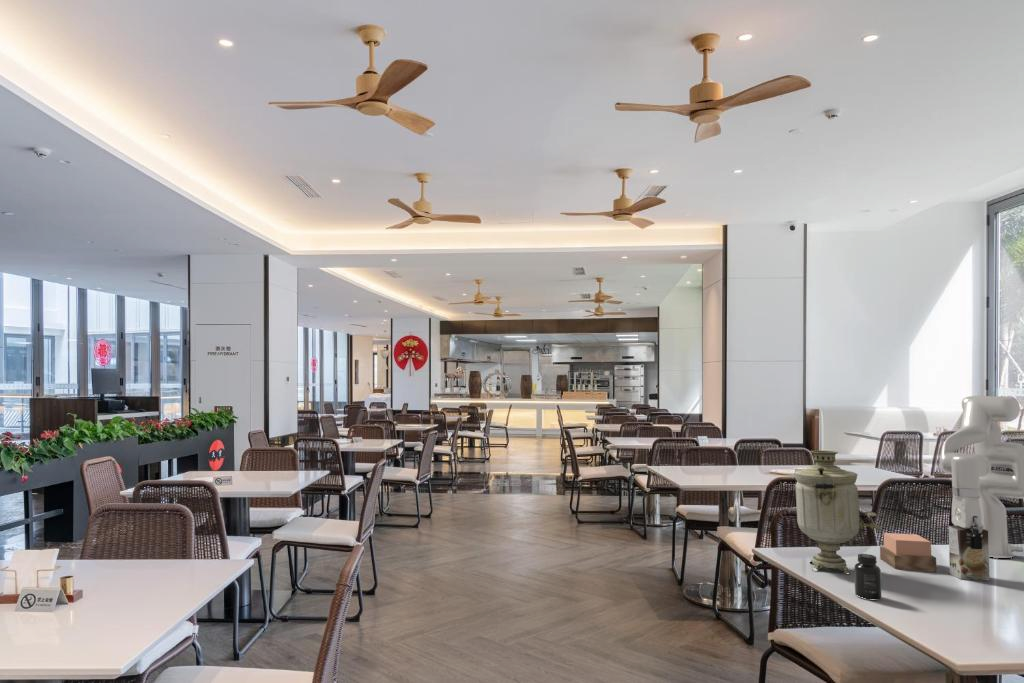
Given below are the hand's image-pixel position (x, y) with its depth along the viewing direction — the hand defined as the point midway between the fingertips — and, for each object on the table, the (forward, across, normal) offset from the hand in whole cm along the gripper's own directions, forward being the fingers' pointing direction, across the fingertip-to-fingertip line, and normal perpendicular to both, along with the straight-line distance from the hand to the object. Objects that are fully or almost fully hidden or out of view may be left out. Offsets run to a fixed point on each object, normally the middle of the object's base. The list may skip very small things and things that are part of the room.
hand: (968, 545), depth 210 cm
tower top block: (+6, -12, -14) cm, 19 cm away
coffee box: (+11, 0, 0) cm, 11 cm away
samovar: (+11, +1, -41) cm, 42 cm away
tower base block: (+11, -12, -14) cm, 21 cm away
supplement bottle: (+11, +29, -41) cm, 51 cm away
